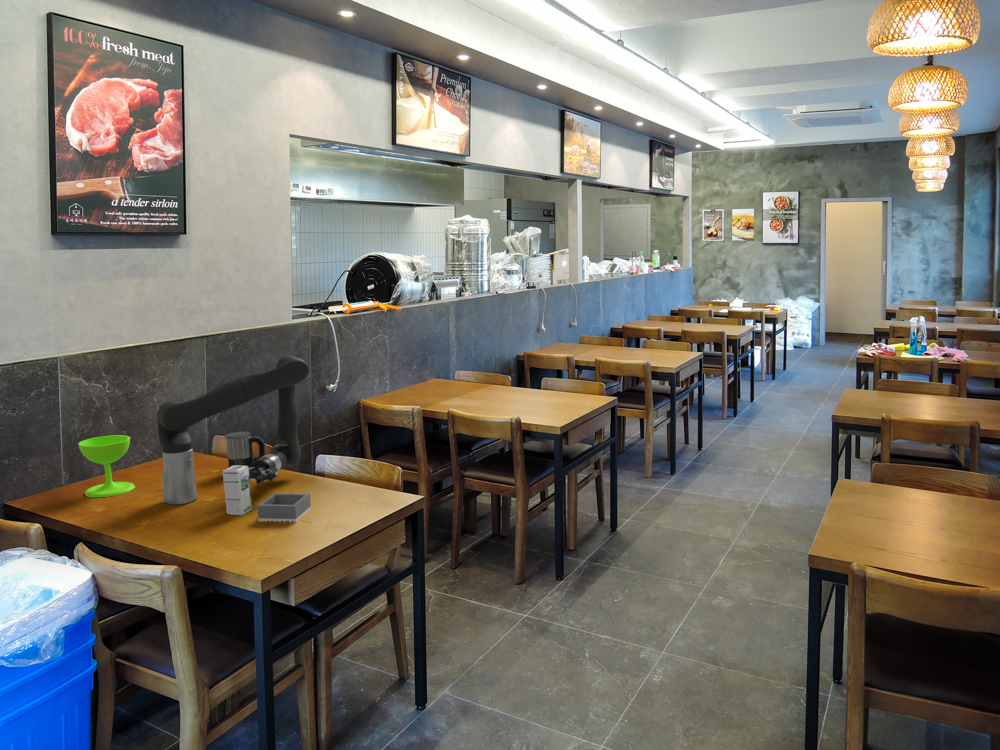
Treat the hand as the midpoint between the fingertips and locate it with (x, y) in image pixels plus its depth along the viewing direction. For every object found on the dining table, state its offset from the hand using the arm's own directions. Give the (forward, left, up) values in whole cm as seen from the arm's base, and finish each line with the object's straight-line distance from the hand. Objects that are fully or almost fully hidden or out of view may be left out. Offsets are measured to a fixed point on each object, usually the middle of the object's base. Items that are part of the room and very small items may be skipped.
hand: (244, 481), depth 243 cm
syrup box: (0, -5, -9) cm, 10 cm away
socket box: (+16, -7, -9) cm, 19 cm away
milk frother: (-20, +42, -9) cm, 48 cm away
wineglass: (-57, +14, -9) cm, 59 cm away
